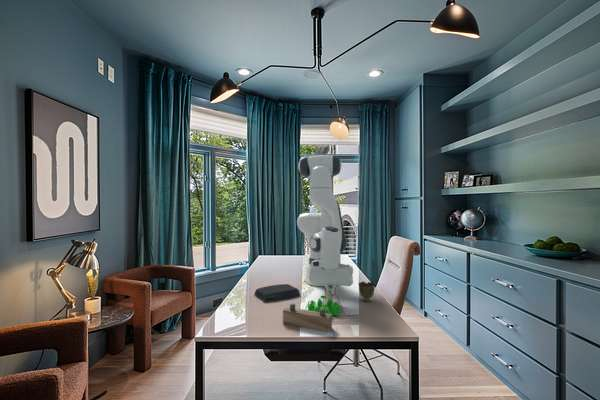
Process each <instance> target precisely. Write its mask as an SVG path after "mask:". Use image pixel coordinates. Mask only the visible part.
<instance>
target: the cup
mask: <svg viewBox="0 0 600 400" xmlns="http://www.w3.org/2000/svg"><path fill="white" fill-rule="evenodd" d="M375 286H376V284H375V283H374V282H372V281H368V282H367V283H366V281H360V282H358V289H359V295H360V296H361V297H362V300H363V301H364V302H370V301H371V300H372V299H371V298H372V297H373V296H374V294H375V289H376V288H375Z"/></svg>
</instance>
